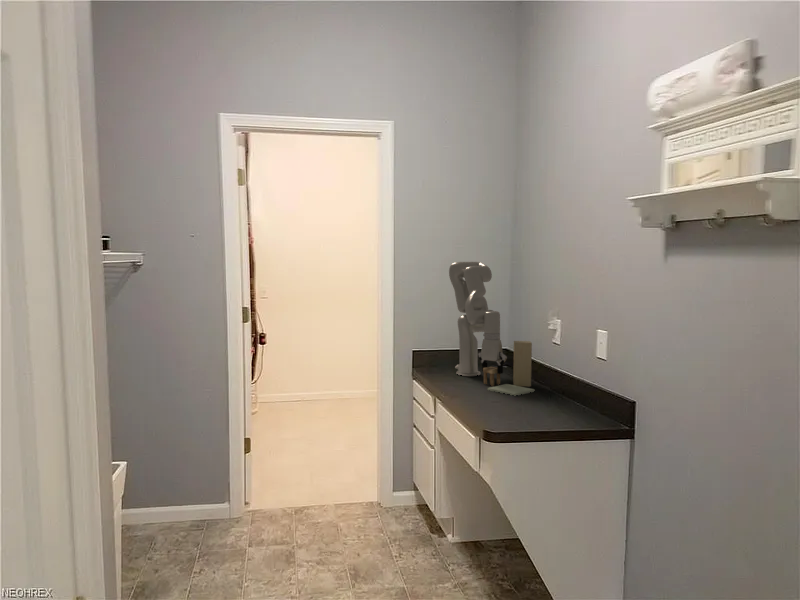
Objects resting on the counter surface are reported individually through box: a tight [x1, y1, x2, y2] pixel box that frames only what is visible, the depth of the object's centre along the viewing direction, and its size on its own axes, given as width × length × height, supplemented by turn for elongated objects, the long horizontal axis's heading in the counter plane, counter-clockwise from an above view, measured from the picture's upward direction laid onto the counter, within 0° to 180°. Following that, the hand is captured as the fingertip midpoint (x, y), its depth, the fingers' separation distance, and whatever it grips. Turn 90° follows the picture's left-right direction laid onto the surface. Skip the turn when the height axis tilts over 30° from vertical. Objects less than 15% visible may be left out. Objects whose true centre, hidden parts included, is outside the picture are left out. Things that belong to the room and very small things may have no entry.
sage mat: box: [487, 383, 535, 397], centre depth 267 cm, size 16×14×1 cm
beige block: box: [512, 340, 533, 388], centre depth 279 cm, size 8×7×21 cm
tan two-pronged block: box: [482, 366, 501, 387], centre depth 281 cm, size 6×6×8 cm
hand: (492, 372), depth 281 cm, fingers open, 9 cm apart
